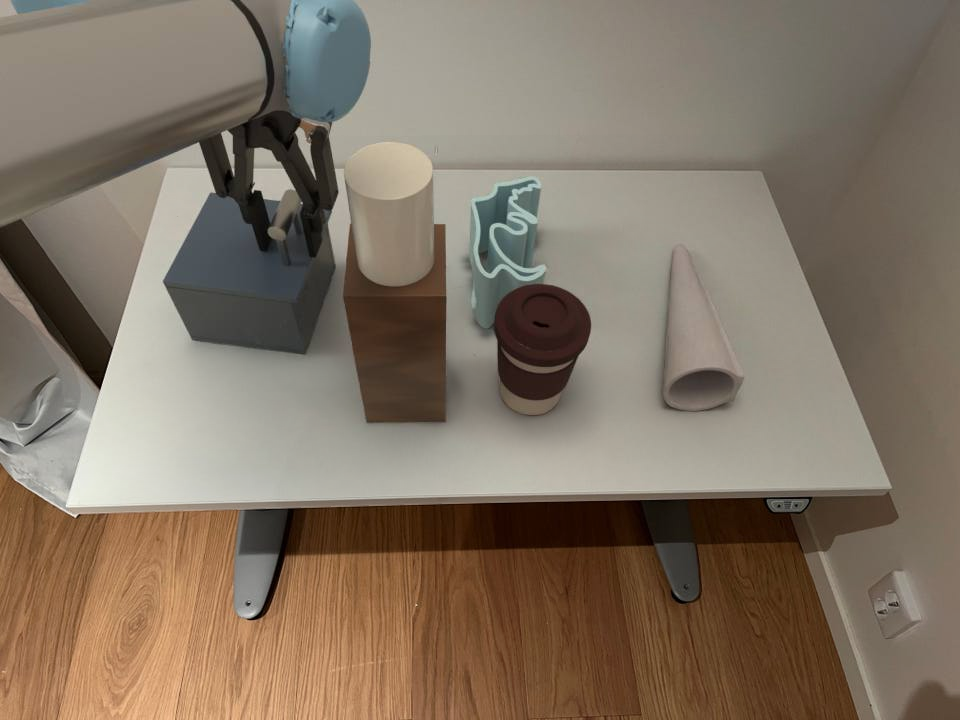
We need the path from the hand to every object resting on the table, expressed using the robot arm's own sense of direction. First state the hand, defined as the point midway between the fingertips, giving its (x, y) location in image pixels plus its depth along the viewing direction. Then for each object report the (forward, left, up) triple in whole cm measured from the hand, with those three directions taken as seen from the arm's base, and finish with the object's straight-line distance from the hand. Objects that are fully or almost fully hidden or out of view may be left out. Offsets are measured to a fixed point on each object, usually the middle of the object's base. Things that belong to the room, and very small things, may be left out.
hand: (291, 245), depth 77 cm
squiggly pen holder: (+24, -10, -11) cm, 28 cm away
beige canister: (+4, -18, +11) cm, 21 cm away
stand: (+4, -18, -11) cm, 21 cm away
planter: (+38, -27, -11) cm, 48 cm away
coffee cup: (+16, -26, -11) cm, 32 cm away
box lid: (-4, +3, -1) cm, 5 cm away
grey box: (-4, +3, -11) cm, 12 cm away
